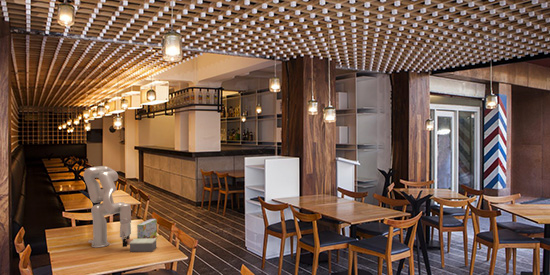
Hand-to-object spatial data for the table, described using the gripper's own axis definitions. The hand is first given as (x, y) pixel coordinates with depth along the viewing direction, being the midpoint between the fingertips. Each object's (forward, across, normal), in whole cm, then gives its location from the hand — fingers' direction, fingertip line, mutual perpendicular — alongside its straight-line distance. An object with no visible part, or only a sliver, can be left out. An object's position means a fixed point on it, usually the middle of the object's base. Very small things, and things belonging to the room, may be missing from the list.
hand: (126, 245), depth 290 cm
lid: (-1, 0, +9) cm, 10 cm away
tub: (+3, 0, +12) cm, 13 cm away
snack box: (+4, -25, +8) cm, 26 cm away
